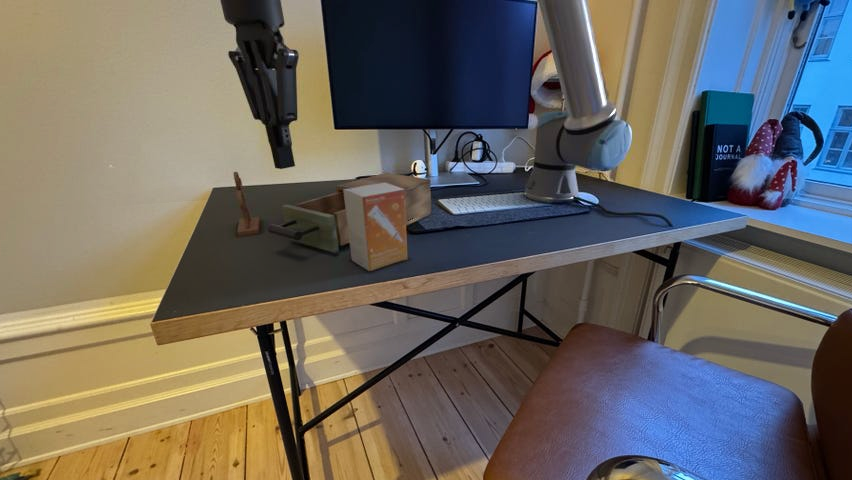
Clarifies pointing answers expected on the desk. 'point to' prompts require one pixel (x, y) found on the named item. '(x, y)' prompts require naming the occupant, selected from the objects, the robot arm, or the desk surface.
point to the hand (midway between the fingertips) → (285, 167)
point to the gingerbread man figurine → (245, 212)
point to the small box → (376, 224)
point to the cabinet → (413, 188)
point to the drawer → (316, 222)
